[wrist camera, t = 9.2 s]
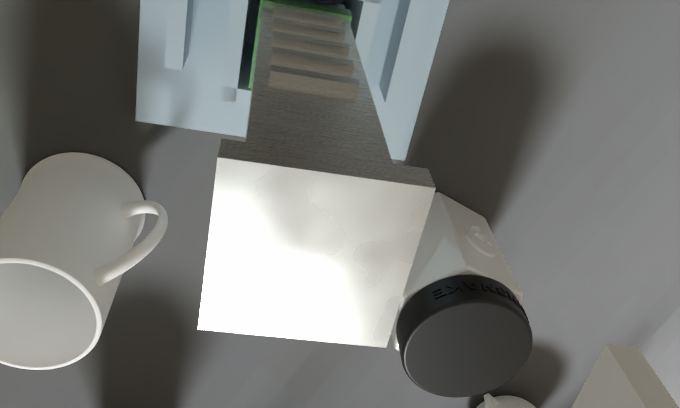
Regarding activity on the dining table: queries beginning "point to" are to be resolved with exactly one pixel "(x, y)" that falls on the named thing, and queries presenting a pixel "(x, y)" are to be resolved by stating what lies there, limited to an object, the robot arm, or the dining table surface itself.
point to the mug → (67, 256)
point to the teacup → (504, 402)
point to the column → (310, 193)
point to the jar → (460, 307)
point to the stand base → (237, 52)
